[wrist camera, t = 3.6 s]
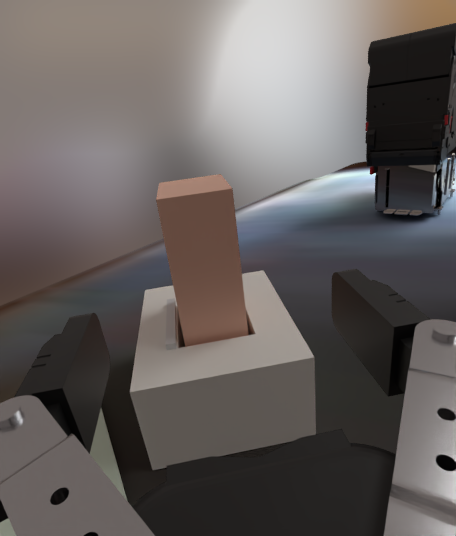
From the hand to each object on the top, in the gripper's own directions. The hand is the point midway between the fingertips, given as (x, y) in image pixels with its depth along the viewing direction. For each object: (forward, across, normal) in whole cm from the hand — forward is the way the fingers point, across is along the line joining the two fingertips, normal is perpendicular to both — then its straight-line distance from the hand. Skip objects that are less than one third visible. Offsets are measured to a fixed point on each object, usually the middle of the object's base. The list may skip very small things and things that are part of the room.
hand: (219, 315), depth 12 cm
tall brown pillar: (+11, 0, +12) cm, 16 cm away
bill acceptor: (+46, -38, +13) cm, 61 cm away
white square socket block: (+11, 0, +12) cm, 16 cm away
